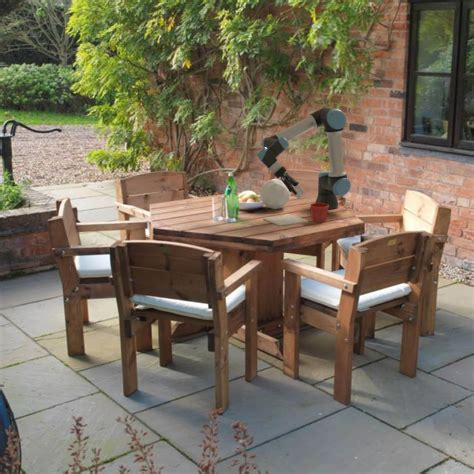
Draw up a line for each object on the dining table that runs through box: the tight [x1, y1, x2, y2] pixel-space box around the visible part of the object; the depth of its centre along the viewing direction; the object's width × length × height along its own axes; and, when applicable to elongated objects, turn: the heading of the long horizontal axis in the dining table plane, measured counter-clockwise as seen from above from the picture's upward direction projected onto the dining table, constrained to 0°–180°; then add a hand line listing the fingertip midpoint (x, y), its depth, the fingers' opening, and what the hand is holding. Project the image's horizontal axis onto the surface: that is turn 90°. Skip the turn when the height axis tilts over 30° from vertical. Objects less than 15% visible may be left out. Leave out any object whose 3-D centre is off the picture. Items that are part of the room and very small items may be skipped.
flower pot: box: [309, 202, 329, 223], centre depth 435 cm, size 11×11×10 cm
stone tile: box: [262, 214, 309, 227], centre depth 435 cm, size 20×18×1 cm
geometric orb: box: [259, 178, 292, 210], centre depth 466 cm, size 19×20×20 cm
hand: (302, 195), depth 435 cm, fingers open, 13 cm apart
